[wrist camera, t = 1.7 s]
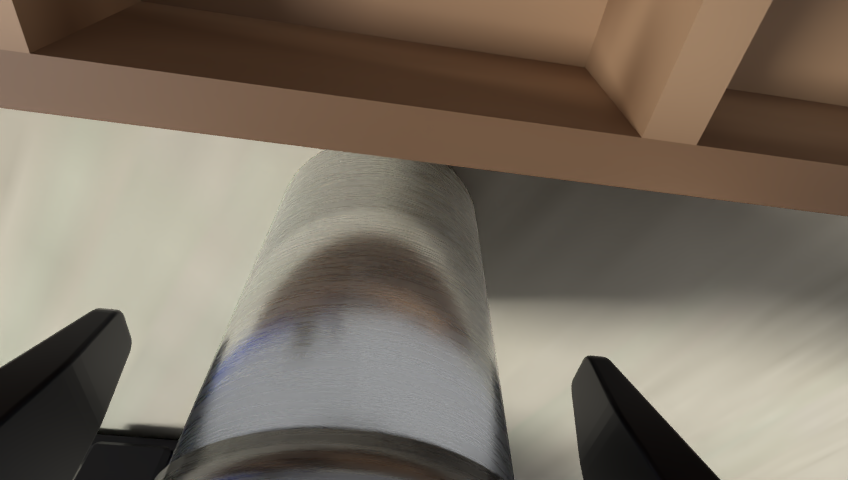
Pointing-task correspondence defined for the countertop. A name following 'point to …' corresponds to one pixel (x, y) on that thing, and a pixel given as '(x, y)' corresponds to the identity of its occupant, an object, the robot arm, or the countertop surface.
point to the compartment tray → (471, 84)
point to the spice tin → (357, 339)
